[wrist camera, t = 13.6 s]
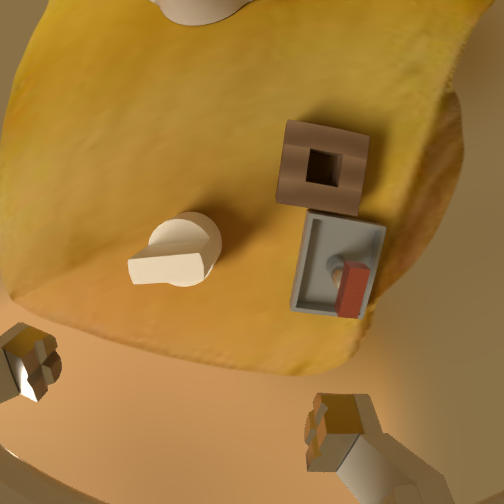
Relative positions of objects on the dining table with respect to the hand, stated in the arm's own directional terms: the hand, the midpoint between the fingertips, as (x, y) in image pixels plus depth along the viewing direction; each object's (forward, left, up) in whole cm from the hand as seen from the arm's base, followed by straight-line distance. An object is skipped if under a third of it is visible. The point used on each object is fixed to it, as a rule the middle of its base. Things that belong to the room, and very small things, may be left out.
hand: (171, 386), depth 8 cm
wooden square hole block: (-7, +8, -35) cm, 37 cm away
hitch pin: (+6, +13, -34) cm, 37 cm away
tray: (+6, +13, -35) cm, 38 cm away
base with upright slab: (+6, -8, -35) cm, 37 cm away
